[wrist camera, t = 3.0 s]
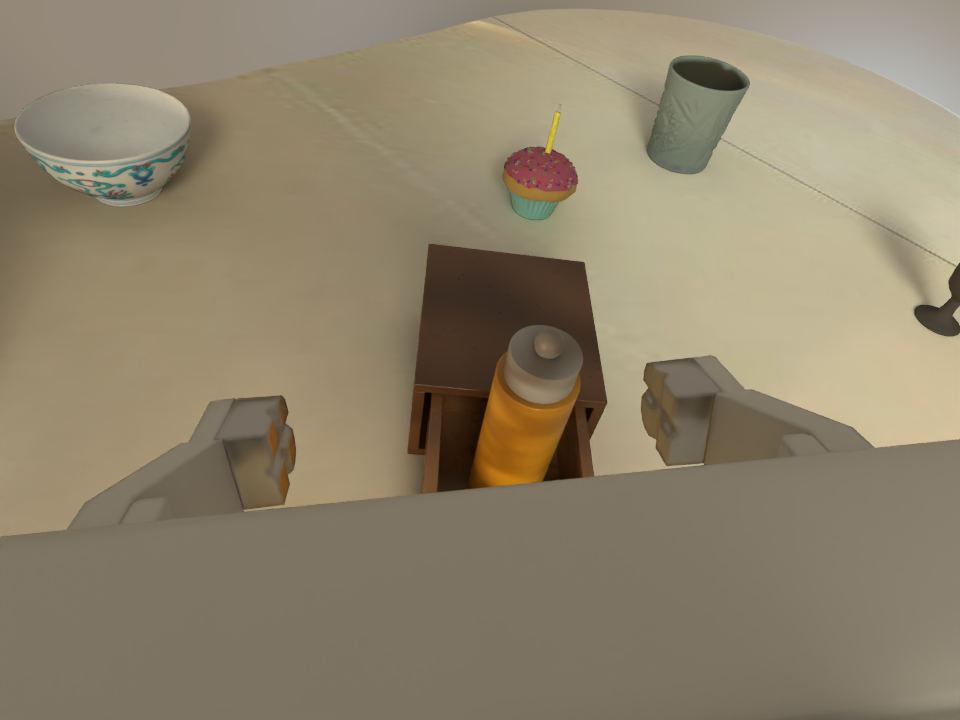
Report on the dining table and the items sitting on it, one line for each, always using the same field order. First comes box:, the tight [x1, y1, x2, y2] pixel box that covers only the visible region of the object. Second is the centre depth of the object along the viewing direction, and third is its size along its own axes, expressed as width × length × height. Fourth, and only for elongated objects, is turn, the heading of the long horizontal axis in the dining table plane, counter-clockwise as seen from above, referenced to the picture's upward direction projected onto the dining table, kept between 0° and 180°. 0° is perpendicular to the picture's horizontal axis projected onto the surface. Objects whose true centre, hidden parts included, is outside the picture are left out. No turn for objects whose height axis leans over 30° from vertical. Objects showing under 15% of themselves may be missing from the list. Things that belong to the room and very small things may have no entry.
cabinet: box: [408, 244, 607, 455], centre depth 51 cm, size 16×14×9 cm
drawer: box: [421, 393, 594, 494], centre depth 42 cm, size 19×12×7 cm, turn 0°
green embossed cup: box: [647, 56, 750, 174], centre depth 83 cm, size 10×10×12 cm
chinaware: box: [15, 83, 191, 206], centre depth 63 cm, size 15×15×8 cm
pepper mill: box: [467, 325, 583, 489], centre depth 38 cm, size 5×5×17 cm
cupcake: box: [503, 104, 578, 220], centre depth 69 cm, size 9×8×12 cm
